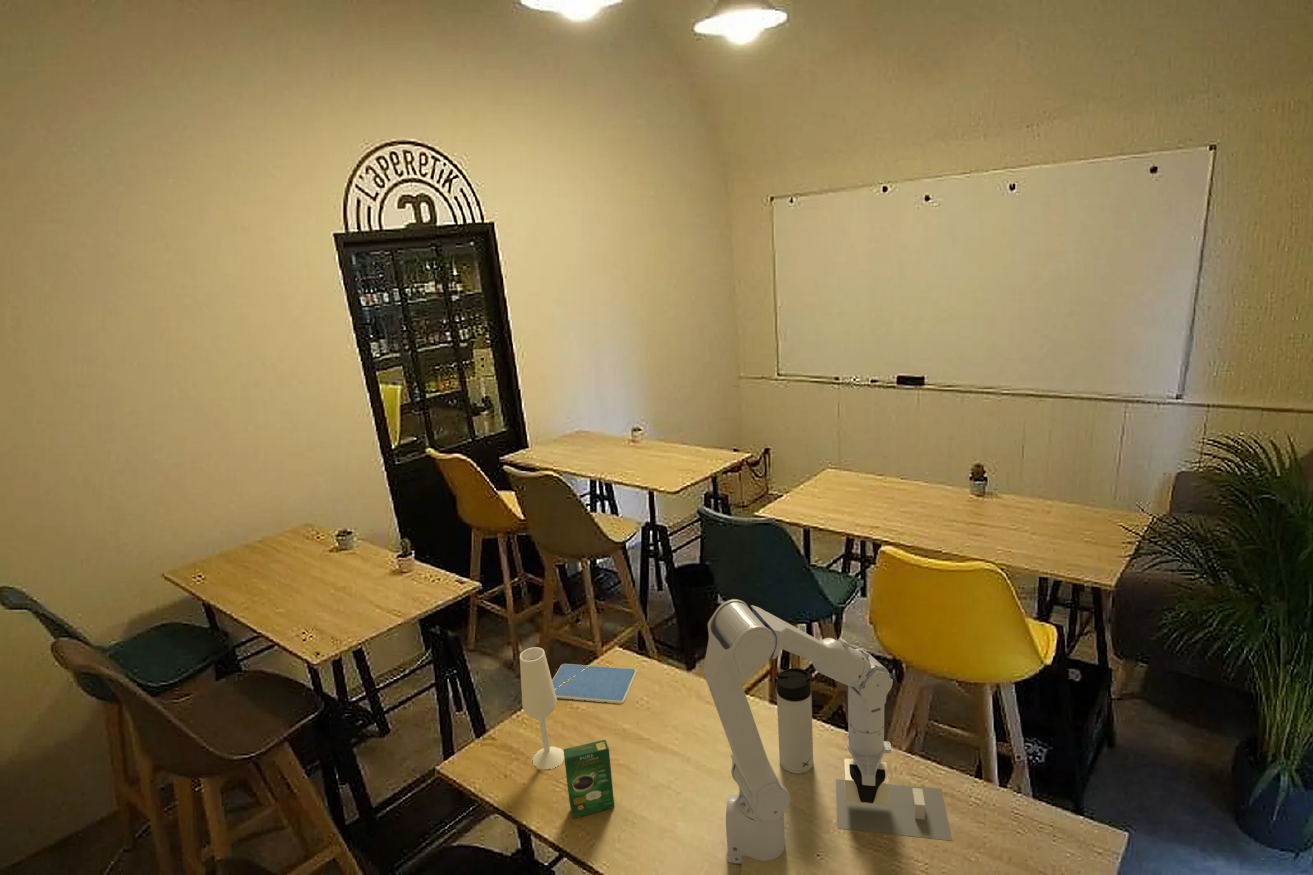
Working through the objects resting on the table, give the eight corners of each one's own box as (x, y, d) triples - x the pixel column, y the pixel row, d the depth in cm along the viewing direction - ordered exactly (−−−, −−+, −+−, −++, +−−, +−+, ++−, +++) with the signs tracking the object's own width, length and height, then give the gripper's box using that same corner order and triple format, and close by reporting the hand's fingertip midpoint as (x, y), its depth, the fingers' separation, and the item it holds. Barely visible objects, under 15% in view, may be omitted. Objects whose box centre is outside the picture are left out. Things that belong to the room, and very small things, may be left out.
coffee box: (613, 796, 129) (606, 737, 125) (616, 808, 126) (609, 747, 123) (570, 808, 127) (561, 748, 124) (572, 820, 125) (563, 759, 121)
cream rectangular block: (888, 806, 117) (888, 784, 116) (845, 801, 119) (845, 779, 117) (885, 783, 122) (886, 762, 120) (844, 779, 123) (844, 758, 122)
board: (837, 832, 117) (836, 813, 116) (835, 783, 127) (835, 765, 126) (952, 845, 113) (952, 825, 112) (941, 793, 123) (941, 774, 122)
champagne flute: (526, 768, 138) (508, 663, 131) (539, 745, 144) (523, 643, 137) (557, 772, 136) (541, 665, 130) (569, 748, 142) (554, 645, 136)
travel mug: (815, 779, 129) (813, 687, 123) (779, 777, 130) (775, 685, 125) (815, 755, 135) (812, 665, 129) (780, 753, 136) (776, 664, 130)
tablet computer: (638, 672, 166) (637, 667, 166) (623, 706, 154) (623, 701, 154) (562, 667, 171) (561, 662, 170) (542, 700, 159) (542, 695, 159)
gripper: (895, 755, 108) (894, 825, 112) (887, 695, 122) (886, 760, 126) (848, 750, 110) (849, 820, 114) (845, 693, 124) (846, 756, 127)
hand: (865, 788), depth 120 cm, fingers closed on cream rectangular block, 5 cm apart
